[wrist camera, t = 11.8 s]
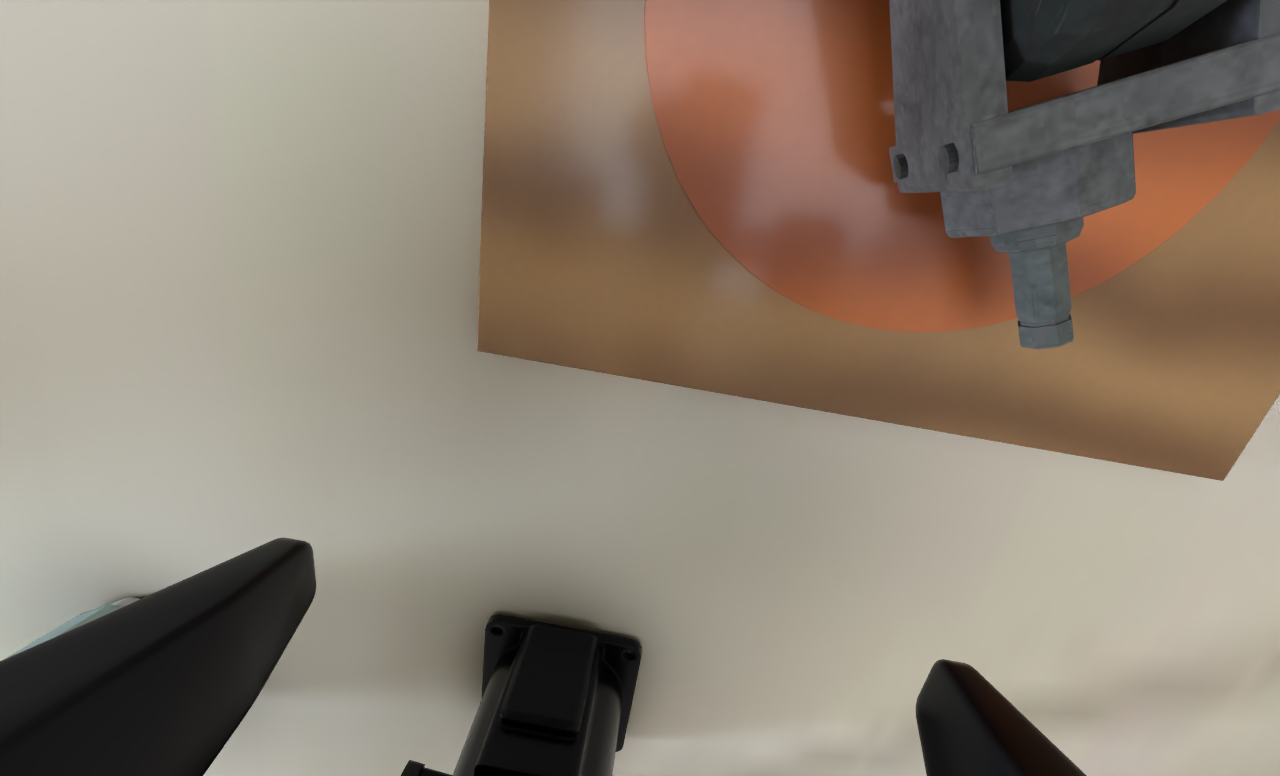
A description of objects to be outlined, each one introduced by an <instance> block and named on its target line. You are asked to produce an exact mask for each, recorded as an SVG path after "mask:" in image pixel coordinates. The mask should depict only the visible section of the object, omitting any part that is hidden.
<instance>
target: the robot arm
mask: <svg viewBox="0 0 1280 776" xmlns="http://www.w3.org/2000/svg"><path fill="white" fill-rule="evenodd" d="M315 591H316V578H315V568H314V558H313V550H312V547H311V545H310V544H309V543H307V542H305V541H301V540H295V539H290V538H278V539H275V540H273V541H270V542H268V543H266V544H264V545H261V546H259V547H257V548H255V549H252V550H250V551H248V552H246V553H243V554H241V555H239V556H237V557H234V558H232V559H230V560H228V561H225V562H223V563H221V564H219V565H216V566H214V567H212V568H210V569H207V570H205V571H203V572H201V573H198V574H196V575H194V576H192V577H189V578H187V579H185V580H183V581H180V582H178V583H176V584H174V585H171V586H169V587H167V588H165V589H162V590H160V591H158V592H156V593H153V594H151V595H149V596H146V597H144V598H142V599H140V600H137V601H135V602H133V603H131V604H128V605H126V606H124V607H122V608H119V609H117V610H115V611H113V612H110V613H108V614H106V615H104V616H101V617H99V618H97V619H95V620H92V621H90V622H88V623H86V624H83V625H81V626H79V627H77V628H74V629H72V630H70V631H68V632H65V633H63V634H61V635H59V636H56V637H54V638H52V639H50V640H47V641H45V642H43V643H40V644H38V645H36V646H34V647H31V648H29V649H27V650H25V651H22V652H20V653H18V654H16V655H13V656H11V657H9V658H7V659H4V660H2V661H0V776H203V775H204V773H205V772H206V771H207V769H208V768H209V766H210V765H211V764H212V762H213V761H214V759H215V758H216V756H217V755H218V754H219V752H220V751H221V749H222V748H223V747H224V745H225V744H226V742H227V741H228V739H229V738H230V737H231V735H232V734H233V732H234V731H235V730H236V728H237V727H238V725H239V724H240V722H241V721H242V720H243V718H244V717H245V715H246V714H247V712H248V711H249V709H250V708H251V706H252V705H253V703H254V702H255V700H256V698H257V697H258V695H259V693H260V692H261V690H262V688H263V687H264V685H265V683H266V682H267V680H268V678H269V676H270V675H271V673H272V671H273V669H274V668H275V666H276V664H277V662H278V661H279V659H280V657H281V655H282V654H283V652H284V650H285V648H286V647H287V645H288V643H289V641H290V640H291V638H292V636H293V634H294V633H295V631H296V629H297V627H298V626H299V624H300V622H301V620H302V619H303V617H304V615H305V613H306V612H307V610H308V608H309V606H310V605H311V603H312V601H313V598H314V595H315ZM496 626H498V627H500V628H498V627H496ZM626 651H630V652H633V653H629V652H626ZM641 653H642V647H641V645H640V643H638V642H637V641H635V640H632V639H628V638H622V637H617V636H612V635H606V634H601V633H596V632H590V631H585V630H580V629H574V628H569V627H564V626H558V625H553V624H548V623H542V622H537V621H532V620H526V619H521V618H516V617H510V616H505V615H494V616H492V617H491V618H490V619H489V621H488V623H487V626H486V629H485V646H484V665H483V683H482V701H481V703H480V706H479V708H478V711H477V713H476V716H475V719H474V721H473V724H472V726H471V729H470V731H469V734H468V737H467V739H466V742H465V744H464V747H463V750H462V752H461V755H460V757H459V760H458V762H457V765H456V768H455V770H454V773H453V775H450V774H446V773H443V772H439V771H436V770H432V769H428V768H425V764H422V763H419V762H415V761H411V760H409V762H408V763H407V765H406V767H405V769H404V770H403V772H402V774H401V776H612V773H613V766H614V758H615V752H618V751H620V750H621V749H622V747H623V744H624V739H625V734H626V729H627V724H628V719H629V714H630V709H631V705H632V700H633V695H634V690H635V685H636V680H637V675H638V670H639V665H640V660H641ZM916 719H917V724H918V730H919V735H920V741H921V747H922V752H923V758H924V763H925V769H926V774H927V776H1086V775H1085V774H1084V773H1083V772H1082V771H1081V770H1080V769H1079V768H1078V767H1077V766H1076V765H1075V764H1074V763H1073V762H1072V761H1071V760H1070V759H1069V758H1068V757H1066V756H1065V755H1064V754H1063V753H1062V752H1061V751H1060V750H1059V749H1058V748H1057V747H1056V746H1055V745H1054V744H1053V743H1052V742H1051V741H1050V740H1049V739H1048V738H1047V737H1046V736H1045V735H1043V734H1042V733H1041V732H1040V731H1039V730H1038V729H1037V728H1036V727H1035V726H1034V725H1033V724H1032V723H1031V722H1030V721H1029V720H1028V719H1027V718H1026V717H1025V716H1024V715H1023V714H1022V713H1020V712H1019V711H1018V710H1017V709H1016V708H1015V707H1014V706H1013V705H1012V704H1011V703H1010V702H1009V701H1008V700H1007V699H1006V698H1005V697H1004V696H1003V695H1002V694H1001V693H1000V692H998V691H997V690H996V689H995V688H994V687H993V686H992V685H991V684H990V683H989V682H988V681H987V680H986V679H985V678H984V677H983V676H982V675H981V674H980V673H979V672H978V671H977V670H975V669H974V668H973V667H972V666H970V665H968V664H965V663H961V662H955V661H950V660H944V659H942V660H938V661H937V662H936V663H935V664H934V665H933V667H932V669H931V671H930V673H929V675H928V677H927V679H926V681H925V683H924V685H923V688H922V690H921V692H920V694H919V696H918V698H917V702H916Z"/></svg>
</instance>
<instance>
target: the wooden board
mask: <svg viewBox="0 0 1280 776" xmlns="http://www.w3.org/2000/svg"><path fill="white" fill-rule="evenodd" d="M1100 61H1101V60H1096V61H1095V62H1094V63H1091V64H1088V65H1085V66H1081V67H1078V68H1075V69H1071V70H1068V71H1065V72H1062V73H1058V74H1055V75H1052V76H1048V77H1045V78H1042V79H1039V80H1035V81H1032V82H1022V81H1006V91H1007V104H1008V112H1010V111H1014V110H1017V109H1020V108H1024V107H1027V106H1030V105H1034V104H1037V103H1041V102H1044V101H1047V100H1051V99H1054V98H1057V97H1061V96H1064V95H1067V94H1071V93H1074V92H1078V91H1081V90H1084V89H1088V88H1091V87H1094V86H1097V81H1098V75H1099V68H1100ZM893 146H896V134H895V112H894V91H893V69H892V47H891V25H890V4H889V0H489V27H488V54H487V82H486V109H485V136H484V163H483V190H482V218H481V245H480V272H479V299H478V327H477V351H481V352H487V353H493V354H498V355H504V356H510V357H516V358H521V359H527V360H533V361H539V362H544V363H550V364H556V365H561V366H567V367H573V368H579V369H584V370H590V371H596V372H602V373H607V374H613V375H619V376H625V377H630V378H636V379H642V380H648V381H653V382H659V383H665V384H670V385H676V386H682V387H688V388H693V389H699V390H705V391H711V392H716V393H722V394H728V395H734V396H739V397H745V398H751V399H757V400H762V401H768V402H774V403H780V404H785V405H791V406H797V407H802V408H808V409H814V410H820V411H825V412H831V413H837V414H843V415H848V416H854V417H860V418H866V419H871V420H877V421H883V422H889V423H894V424H900V425H906V426H911V427H917V428H923V429H929V430H934V431H940V432H946V433H952V434H957V435H963V436H969V437H975V438H980V439H986V440H992V441H998V442H1003V443H1009V444H1015V445H1020V446H1026V447H1032V448H1038V449H1043V450H1049V451H1055V452H1061V453H1066V454H1072V455H1078V456H1084V457H1089V458H1095V459H1101V460H1107V461H1112V462H1118V463H1124V464H1129V465H1135V466H1141V467H1147V468H1152V469H1158V470H1164V471H1170V472H1175V473H1181V474H1187V475H1193V476H1198V477H1204V478H1210V479H1216V480H1221V481H1223V480H1224V479H1225V477H1226V476H1227V474H1228V473H1229V471H1230V470H1231V468H1232V466H1233V465H1234V463H1235V462H1236V460H1237V459H1238V457H1239V456H1240V454H1241V453H1242V451H1243V450H1244V448H1245V446H1246V445H1247V443H1248V442H1249V440H1250V439H1251V437H1252V436H1253V434H1254V433H1255V431H1256V429H1257V428H1258V426H1259V425H1260V423H1261V422H1262V420H1263V419H1264V417H1265V416H1266V414H1267V412H1268V411H1269V409H1270V408H1271V406H1272V405H1273V403H1274V402H1275V400H1276V399H1277V397H1278V396H1279V394H1280V110H1276V111H1272V112H1269V113H1265V114H1261V115H1254V116H1248V117H1241V118H1235V119H1228V120H1222V121H1215V122H1209V123H1202V124H1195V125H1189V126H1182V127H1176V128H1169V129H1163V130H1156V131H1150V132H1143V133H1137V134H1133V146H1134V163H1135V181H1136V194H1135V196H1134V198H1133V199H1132V200H1130V201H1128V202H1126V203H1123V204H1120V205H1118V206H1115V207H1112V208H1109V209H1106V210H1103V211H1100V212H1097V213H1094V214H1092V215H1089V216H1086V217H1083V220H1084V226H1083V228H1082V231H1081V233H1080V236H1079V237H1077V238H1075V239H1073V240H1071V241H1069V242H1066V250H1067V261H1068V272H1069V283H1070V294H1071V305H1072V308H1071V311H1070V313H1069V314H1070V315H1071V318H1072V324H1073V335H1074V339H1073V341H1072V342H1070V343H1067V344H1065V345H1062V346H1060V347H1056V348H1047V349H1031V348H1025V347H1022V346H1021V345H1020V338H1019V330H1018V321H1019V319H1018V317H1017V316H1016V309H1015V300H1014V292H1013V283H1012V274H1011V266H1010V257H1009V253H1000V252H996V250H995V249H994V247H993V246H992V244H991V241H990V236H980V237H964V238H950V237H949V236H948V235H947V234H946V230H945V223H944V216H943V208H942V201H941V194H940V192H929V193H901V192H900V191H899V189H898V182H896V183H894V178H893V172H892V166H891V159H890V153H889V148H890V147H893Z"/></svg>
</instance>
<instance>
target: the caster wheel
mask: <svg viewBox="0 0 1280 776" xmlns="http://www.w3.org/2000/svg"><path fill="white" fill-rule="evenodd" d="M889 4H890V25H891V47H892V69H893V91H894V112H895V134H896V146H893V147H890V148H889V153H890V159H891V166H892V172H893V178H894V183H896V182H898V189H899V191H900V192H901V193H929V192H940V194H941V201H942V208H943V216H944V223H945V230H946V234H947V235H948V236H949V237H950V238H964V237H980V236H990V241H991V244H992V246H993V247H994V249H995V250H996V252H1000V253H1009V257H1010V266H1011V274H1012V283H1013V292H1014V300H1015V309H1016V316H1017V317H1018V319H1019V321H1018V330H1019V338H1020V345H1021V346H1022V347H1025V348H1031V349H1047V348H1056V347H1060V346H1062V345H1065V344H1067V343H1070V342H1072V341H1073V339H1074V335H1073V324H1072V318H1071V315H1070V314H1069V313H1070V311H1071V308H1072V305H1071V294H1070V283H1069V272H1068V261H1067V250H1066V242H1069V241H1071V240H1073V239H1075V238H1077V237H1079V236H1080V233H1081V231H1082V228H1083V226H1084V220H1083V217H1086V216H1089V215H1092V214H1094V213H1097V212H1100V211H1103V210H1106V209H1109V208H1112V207H1115V206H1118V205H1120V204H1123V203H1126V202H1128V201H1130V200H1132V199H1133V198H1134V196H1135V194H1136V181H1135V163H1134V146H1133V134H1137V133H1143V132H1150V131H1156V130H1163V129H1169V128H1176V127H1182V126H1189V125H1195V124H1202V123H1209V122H1215V121H1222V120H1228V119H1235V118H1241V117H1248V116H1254V115H1261V114H1265V113H1269V112H1272V111H1276V110H1280V0H889ZM1096 60H1101V61H1100V68H1099V75H1098V81H1097V86H1094V87H1091V88H1088V89H1084V90H1081V91H1078V92H1074V93H1071V94H1067V95H1064V96H1061V97H1057V98H1054V99H1051V100H1047V101H1044V102H1041V103H1037V104H1034V105H1030V106H1027V107H1024V108H1020V109H1017V110H1014V111H1010V112H1008V104H1007V91H1006V81H1022V82H1032V81H1035V80H1039V79H1042V78H1045V77H1048V76H1052V75H1055V74H1058V73H1062V72H1065V71H1068V70H1071V69H1075V68H1078V67H1081V66H1085V65H1088V64H1091V63H1094V62H1095V61H1096Z"/></svg>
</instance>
